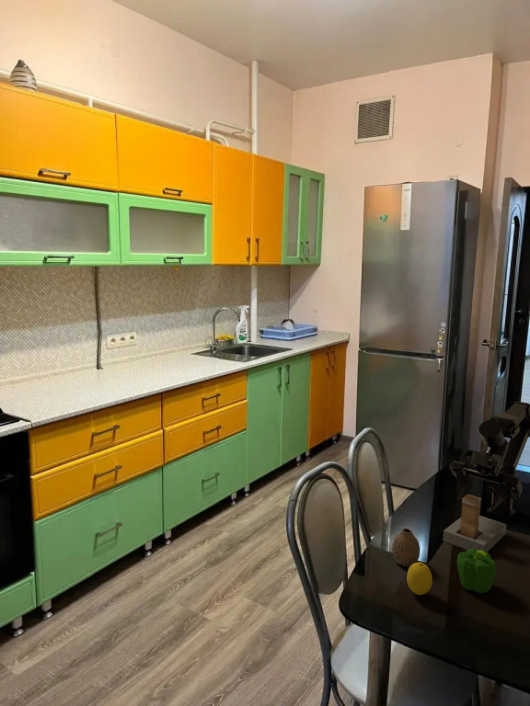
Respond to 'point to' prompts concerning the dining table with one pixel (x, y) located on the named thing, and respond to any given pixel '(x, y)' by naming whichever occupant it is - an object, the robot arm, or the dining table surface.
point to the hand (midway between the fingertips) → (474, 504)
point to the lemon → (419, 578)
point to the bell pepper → (476, 570)
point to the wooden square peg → (470, 516)
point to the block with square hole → (486, 539)
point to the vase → (406, 548)
